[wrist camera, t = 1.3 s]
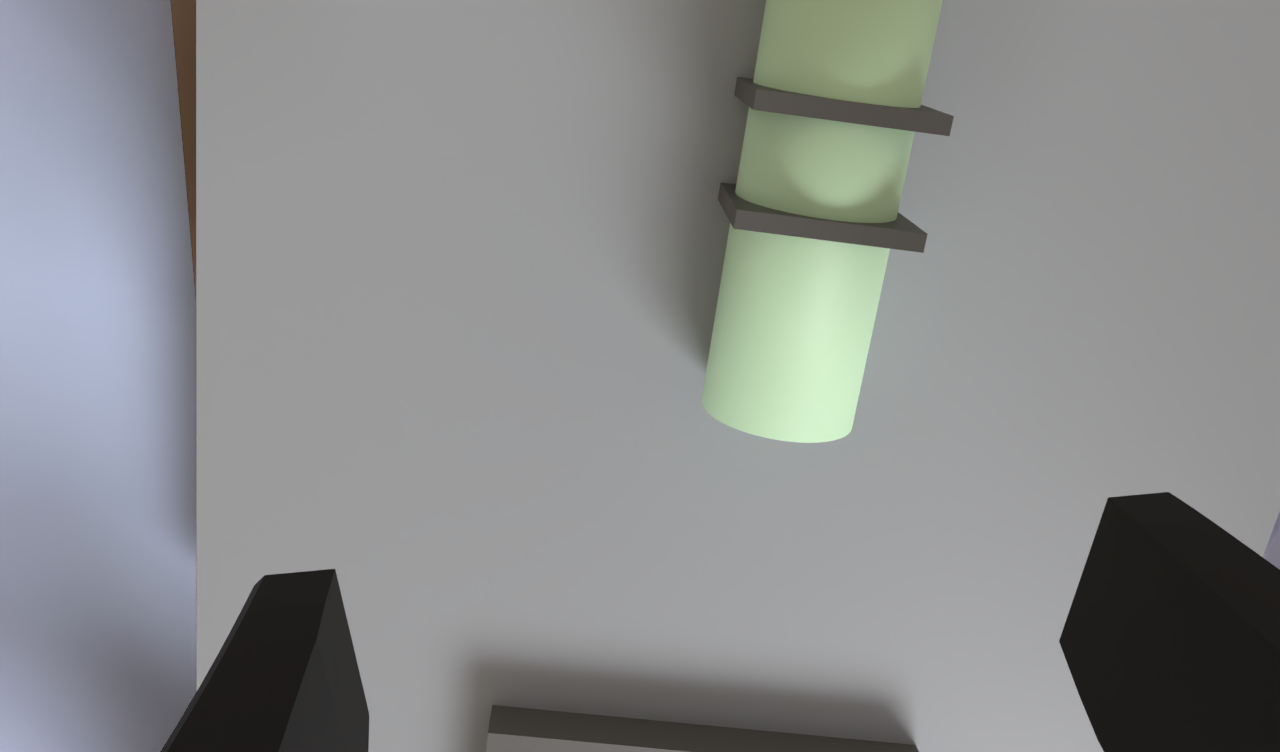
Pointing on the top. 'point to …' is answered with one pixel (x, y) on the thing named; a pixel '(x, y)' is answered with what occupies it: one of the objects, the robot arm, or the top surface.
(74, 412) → the top surface
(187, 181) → the wooden pallet
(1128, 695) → the robot arm
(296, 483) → the level plate
